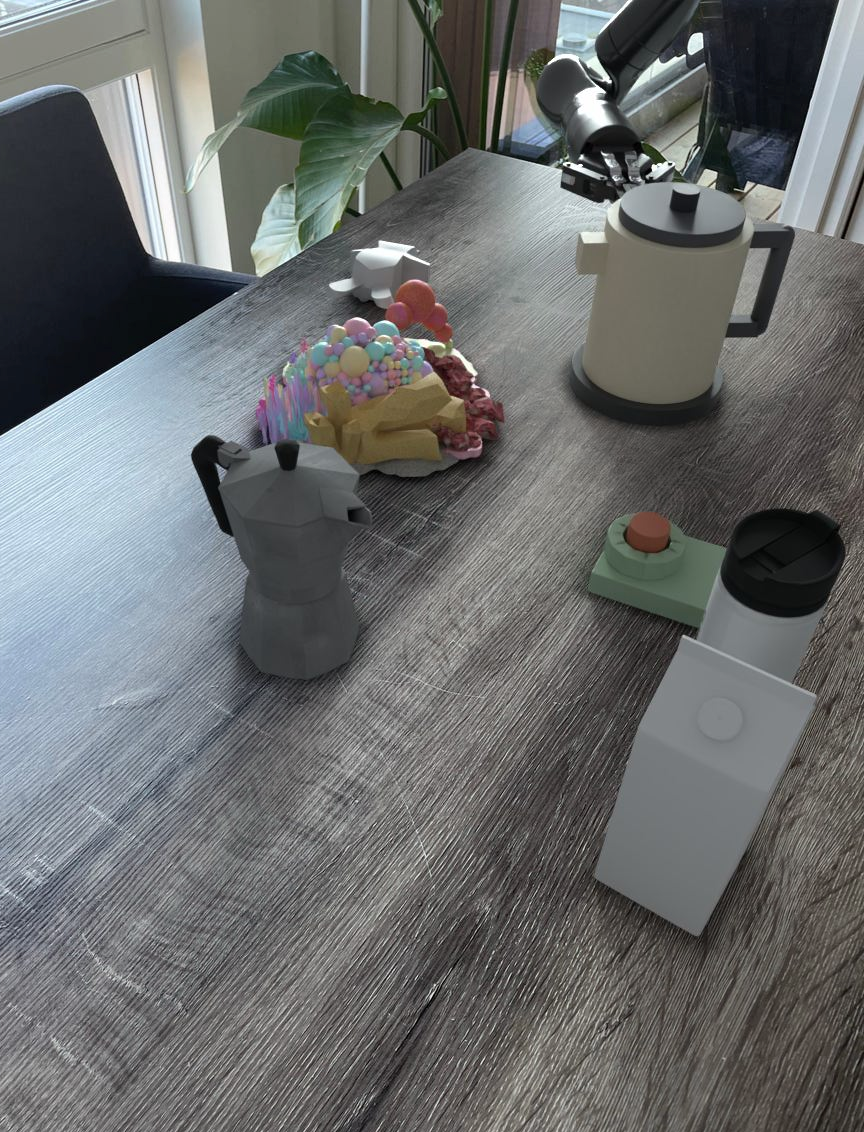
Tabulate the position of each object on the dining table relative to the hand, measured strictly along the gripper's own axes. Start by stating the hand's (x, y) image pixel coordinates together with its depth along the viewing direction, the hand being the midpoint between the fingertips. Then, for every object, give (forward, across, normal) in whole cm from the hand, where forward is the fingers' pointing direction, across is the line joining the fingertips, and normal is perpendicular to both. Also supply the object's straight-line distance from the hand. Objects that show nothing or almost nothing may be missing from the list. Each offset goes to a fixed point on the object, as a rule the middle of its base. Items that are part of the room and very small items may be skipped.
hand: (634, 208), depth 107 cm
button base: (+45, -4, +12) cm, 47 cm away
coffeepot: (+49, -36, +12) cm, 61 cm away
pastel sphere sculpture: (+18, -28, +12) cm, 35 cm away
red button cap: (+43, -7, +8) cm, 44 cm away
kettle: (+14, +1, +12) cm, 18 cm away
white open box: (-5, -26, +12) cm, 29 cm away
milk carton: (+70, -11, +12) cm, 72 cm away
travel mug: (+62, -6, +12) cm, 63 cm away
